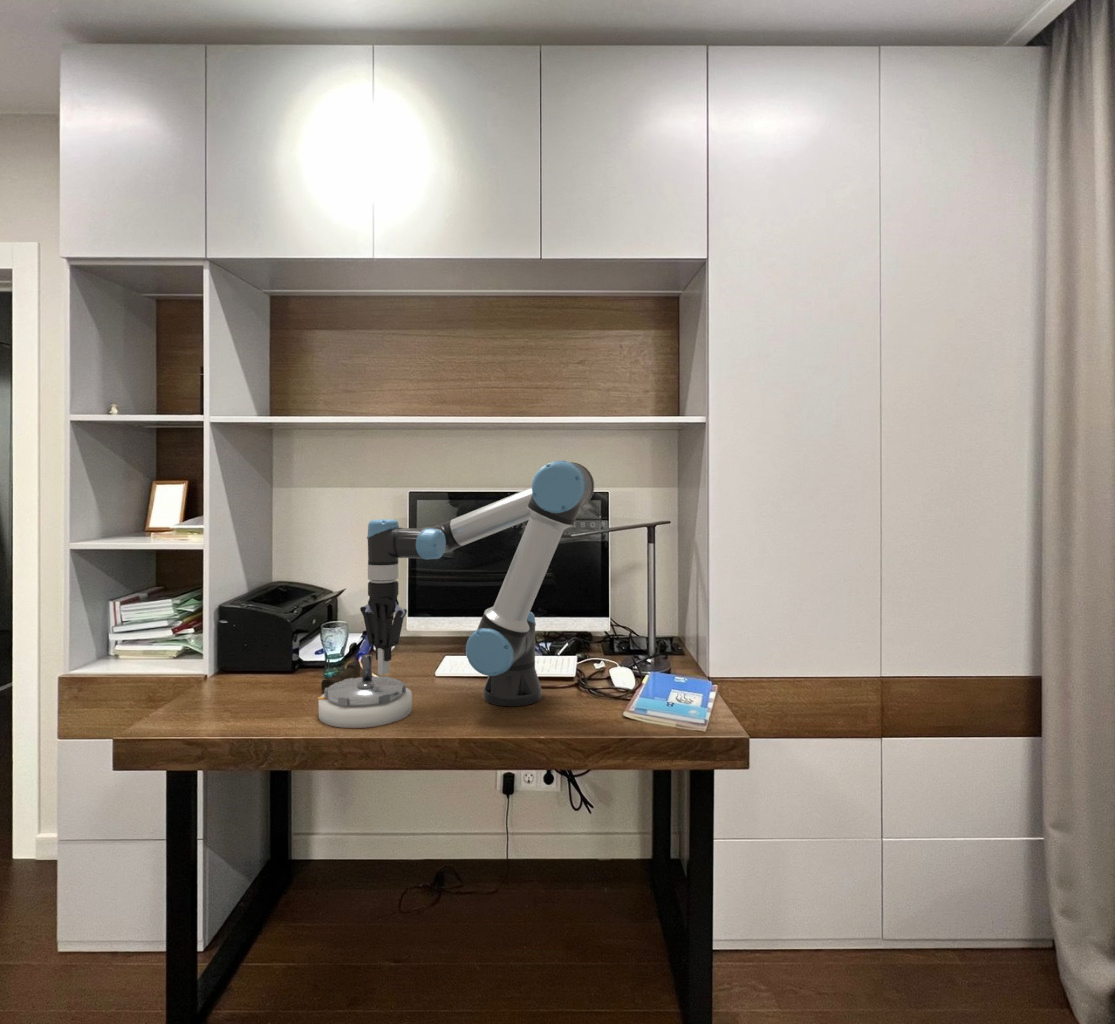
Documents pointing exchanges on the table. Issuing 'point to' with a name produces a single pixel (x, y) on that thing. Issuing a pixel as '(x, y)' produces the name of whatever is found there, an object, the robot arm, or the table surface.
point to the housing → (365, 713)
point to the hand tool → (343, 675)
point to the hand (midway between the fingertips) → (383, 673)
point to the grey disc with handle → (365, 688)
